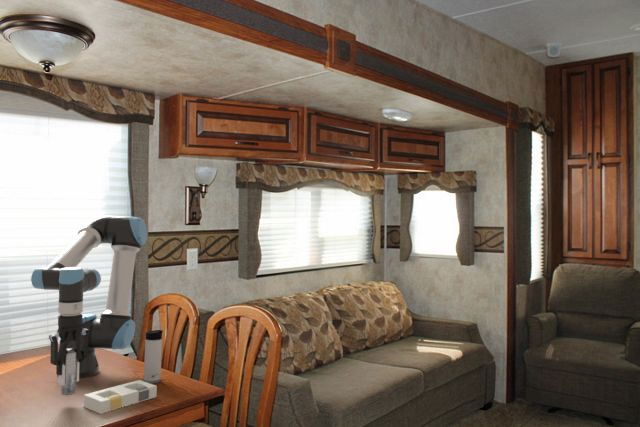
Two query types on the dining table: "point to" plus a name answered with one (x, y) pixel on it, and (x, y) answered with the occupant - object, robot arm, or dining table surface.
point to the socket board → (119, 396)
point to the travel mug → (153, 356)
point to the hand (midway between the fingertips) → (68, 382)
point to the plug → (69, 372)
